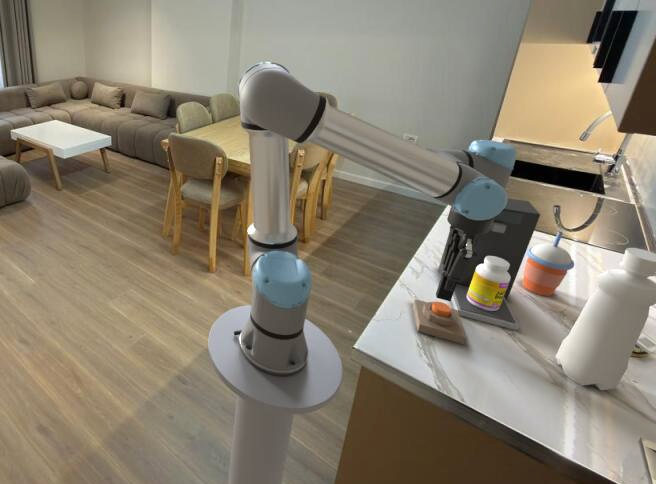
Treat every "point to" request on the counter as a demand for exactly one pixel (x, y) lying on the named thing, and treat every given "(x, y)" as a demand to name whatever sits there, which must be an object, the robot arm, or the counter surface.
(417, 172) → the robot arm
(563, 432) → the counter surface
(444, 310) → the button
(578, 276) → the counter surface
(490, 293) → the supplement bottle
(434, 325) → the control block
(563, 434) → the counter surface
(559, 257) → the cup with straw
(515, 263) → the coffee maker
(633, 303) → the bottle
